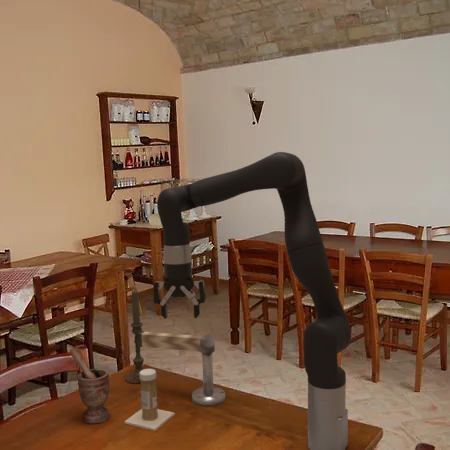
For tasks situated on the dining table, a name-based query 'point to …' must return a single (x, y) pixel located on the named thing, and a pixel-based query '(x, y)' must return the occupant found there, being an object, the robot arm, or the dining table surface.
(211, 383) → the post
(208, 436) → the dining table surface
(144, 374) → the sprinkles bottle
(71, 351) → the mortar and pestle
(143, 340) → the swing arm
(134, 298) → the candlestick holder
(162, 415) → the cream pad
